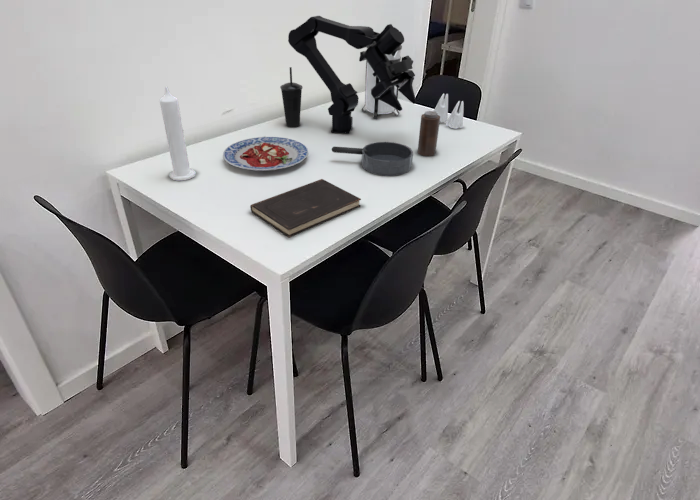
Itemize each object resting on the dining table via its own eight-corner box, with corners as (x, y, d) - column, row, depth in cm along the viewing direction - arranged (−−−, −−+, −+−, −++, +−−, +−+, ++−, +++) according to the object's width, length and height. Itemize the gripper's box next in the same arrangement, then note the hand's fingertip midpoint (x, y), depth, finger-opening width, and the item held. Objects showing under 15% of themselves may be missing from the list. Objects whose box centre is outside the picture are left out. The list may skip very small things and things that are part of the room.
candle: (172, 182, 134) (153, 91, 121) (167, 172, 140) (149, 84, 126) (198, 178, 137) (183, 88, 123) (192, 168, 142) (177, 81, 129)
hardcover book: (360, 206, 125) (361, 198, 124) (289, 237, 112) (288, 229, 111) (320, 185, 135) (320, 178, 134) (250, 211, 122) (249, 203, 121)
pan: (358, 173, 142) (359, 159, 140) (364, 153, 155) (365, 140, 152) (410, 177, 140) (412, 163, 138) (412, 157, 153) (413, 143, 151)
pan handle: (331, 153, 147) (331, 147, 146) (332, 150, 148) (332, 145, 147) (366, 155, 146) (367, 150, 145) (367, 153, 147) (367, 147, 146)
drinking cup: (307, 123, 177) (305, 66, 166) (298, 129, 171) (296, 71, 160) (287, 120, 179) (285, 63, 168) (278, 126, 173) (275, 68, 162)
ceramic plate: (206, 158, 149) (205, 149, 147) (272, 137, 165) (271, 128, 163) (259, 184, 134) (258, 174, 133) (325, 158, 150) (325, 149, 149)
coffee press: (405, 110, 192) (412, 28, 175) (391, 122, 180) (398, 35, 163) (365, 103, 198) (368, 23, 181) (349, 115, 185) (350, 30, 169)
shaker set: (429, 122, 181) (432, 92, 174) (435, 119, 183) (439, 90, 177) (457, 130, 174) (461, 99, 168) (463, 127, 177) (467, 97, 170)
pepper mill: (417, 155, 154) (421, 115, 147) (417, 148, 159) (421, 109, 152) (435, 157, 154) (440, 116, 146) (435, 150, 158) (440, 110, 151)
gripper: (381, 52, 139) (412, 98, 140) (412, 42, 152) (440, 84, 153) (358, 76, 147) (386, 119, 148) (389, 64, 160) (415, 104, 161)
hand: (408, 106), depth 152 cm, fingers open, 9 cm apart
